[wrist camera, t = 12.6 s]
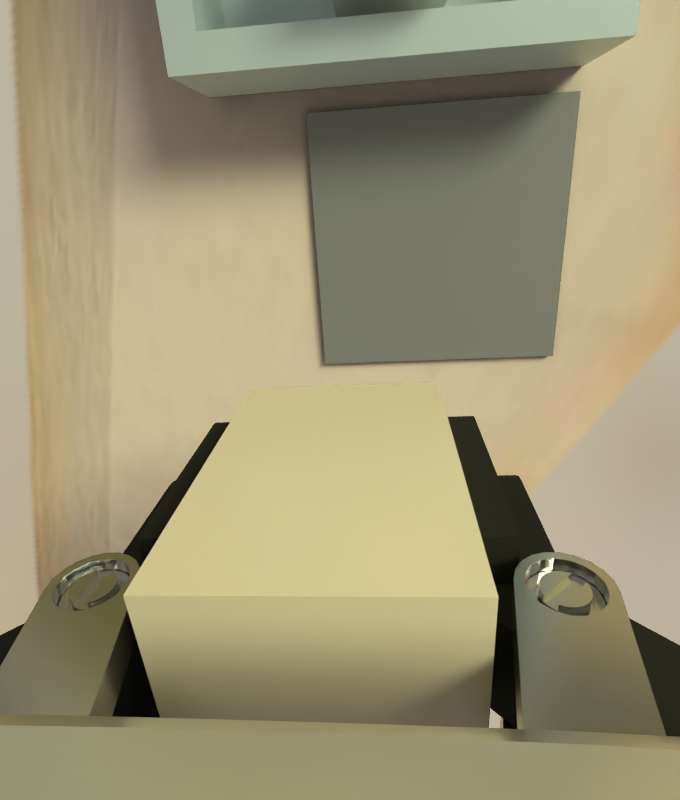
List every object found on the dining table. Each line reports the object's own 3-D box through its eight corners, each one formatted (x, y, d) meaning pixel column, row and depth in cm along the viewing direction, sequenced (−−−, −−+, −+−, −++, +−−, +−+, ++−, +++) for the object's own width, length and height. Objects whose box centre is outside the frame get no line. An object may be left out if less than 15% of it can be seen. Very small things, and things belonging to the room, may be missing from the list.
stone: (251, 388, 11) (122, 595, 6) (437, 382, 11) (498, 597, 5) (272, 537, 13) (189, 814, 7) (435, 536, 12) (481, 827, 7)
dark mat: (306, 114, 21) (305, 113, 21) (577, 92, 20) (580, 91, 20) (325, 361, 26) (325, 363, 25) (550, 353, 25) (552, 355, 24)
